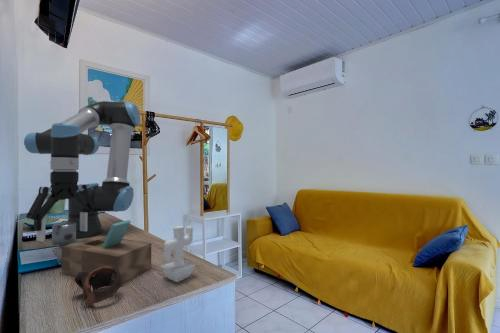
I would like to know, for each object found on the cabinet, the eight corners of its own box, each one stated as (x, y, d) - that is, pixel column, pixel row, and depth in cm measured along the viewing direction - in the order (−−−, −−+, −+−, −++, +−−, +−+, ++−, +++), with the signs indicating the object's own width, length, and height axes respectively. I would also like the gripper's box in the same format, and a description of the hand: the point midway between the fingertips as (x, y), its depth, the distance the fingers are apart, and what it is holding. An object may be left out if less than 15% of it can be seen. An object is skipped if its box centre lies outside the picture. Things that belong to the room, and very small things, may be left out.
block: (100, 258, 89) (100, 235, 89) (151, 268, 82) (151, 243, 82) (61, 273, 77) (61, 246, 77) (117, 286, 69) (117, 256, 69)
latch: (120, 242, 81) (118, 240, 82) (130, 221, 80) (128, 219, 80) (104, 248, 76) (102, 246, 76) (114, 226, 74) (112, 224, 75)
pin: (67, 258, 89) (67, 221, 89) (80, 261, 86) (80, 222, 86) (47, 265, 83) (47, 225, 82) (60, 268, 80) (61, 226, 80)
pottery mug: (129, 287, 70) (130, 266, 66) (109, 321, 62) (109, 300, 58) (85, 276, 69) (84, 255, 66) (59, 309, 61) (56, 287, 57)
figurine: (156, 279, 74) (157, 227, 73) (183, 269, 81) (183, 221, 81) (172, 287, 69) (172, 231, 69) (198, 275, 77) (199, 225, 77)
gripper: (28, 171, 71) (26, 247, 71) (106, 170, 95) (105, 228, 95) (11, 170, 74) (10, 244, 74) (91, 170, 97) (90, 226, 97)
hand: (63, 235), depth 84 cm, fingers open, 13 cm apart
